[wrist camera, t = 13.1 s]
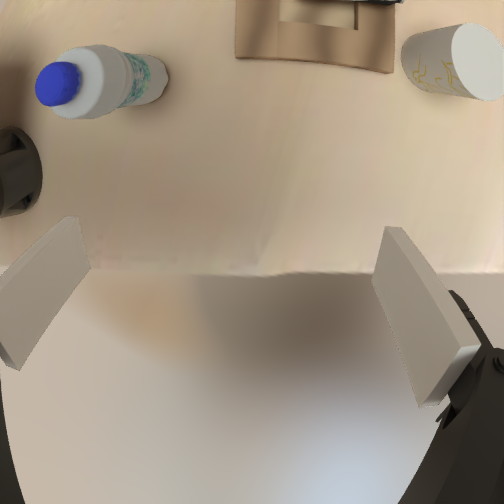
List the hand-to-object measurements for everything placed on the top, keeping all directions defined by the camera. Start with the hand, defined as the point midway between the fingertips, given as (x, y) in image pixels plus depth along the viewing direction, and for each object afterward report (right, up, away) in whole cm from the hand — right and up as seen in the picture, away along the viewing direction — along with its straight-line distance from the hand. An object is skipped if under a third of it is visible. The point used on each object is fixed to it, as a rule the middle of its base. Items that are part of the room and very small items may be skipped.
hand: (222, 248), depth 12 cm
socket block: (+9, +30, +13) cm, 34 cm away
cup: (+24, +24, +16) cm, 37 cm away
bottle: (-12, +21, +20) cm, 31 cm away
